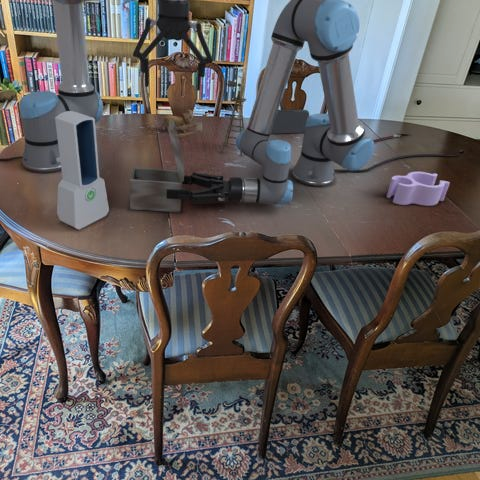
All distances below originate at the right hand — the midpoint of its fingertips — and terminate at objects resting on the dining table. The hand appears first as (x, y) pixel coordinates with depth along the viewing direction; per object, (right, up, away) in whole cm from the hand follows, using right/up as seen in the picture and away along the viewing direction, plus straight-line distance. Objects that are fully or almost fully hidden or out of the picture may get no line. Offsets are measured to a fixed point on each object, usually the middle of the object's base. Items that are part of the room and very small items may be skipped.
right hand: (167, 186), depth 140 cm
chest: (-4, -5, +3) cm, 7 cm away
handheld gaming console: (+40, +32, +67) cm, 85 cm away
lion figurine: (-5, +30, +57) cm, 65 cm away
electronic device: (-22, -10, -8) cm, 26 cm away
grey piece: (+3, +9, -6) cm, 12 cm away
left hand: (+4, +25, -16) cm, 30 cm away
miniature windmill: (+19, +19, +45) cm, 52 cm away
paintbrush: (+90, +30, +73) cm, 120 cm away
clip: (+83, -1, +23) cm, 86 cm away
